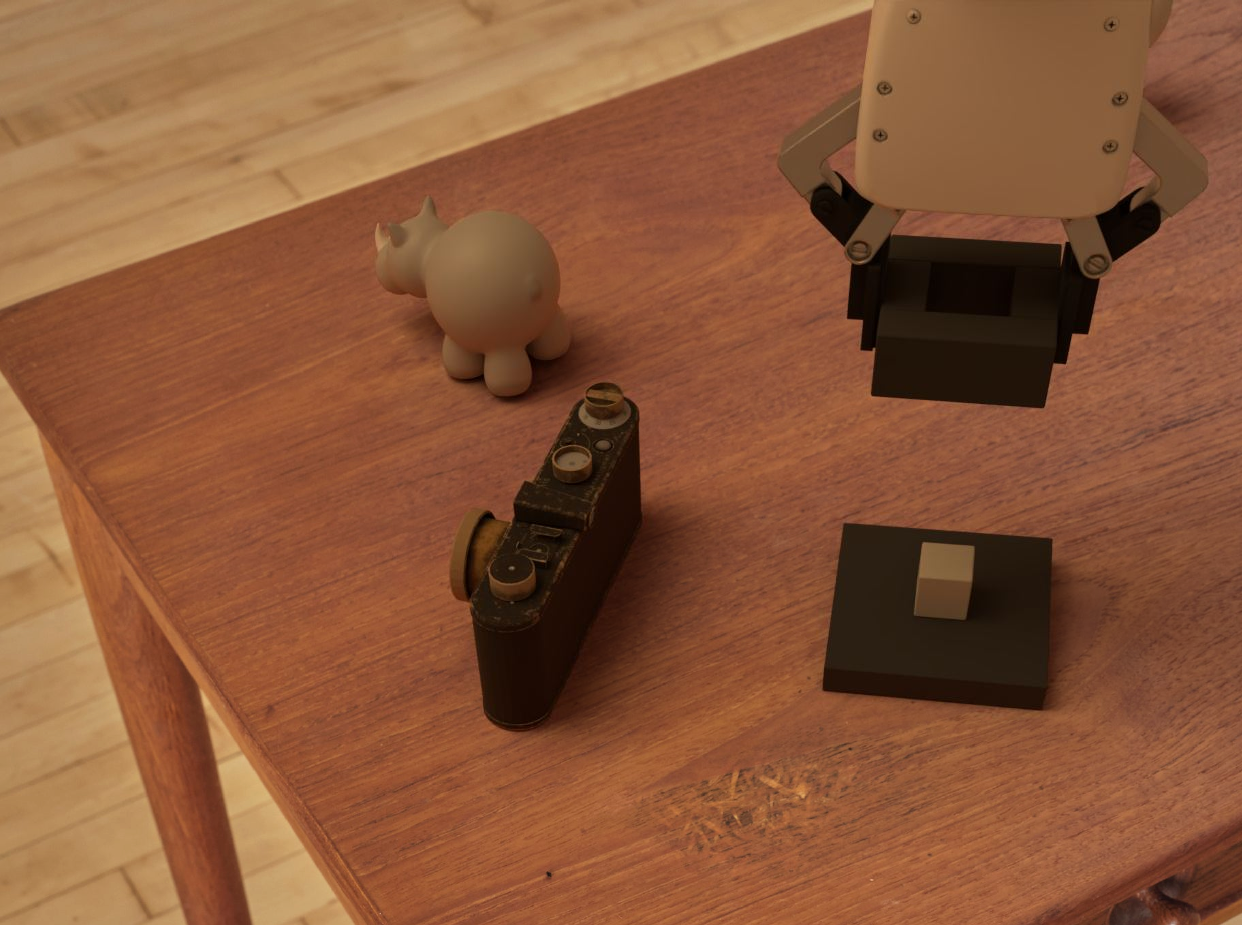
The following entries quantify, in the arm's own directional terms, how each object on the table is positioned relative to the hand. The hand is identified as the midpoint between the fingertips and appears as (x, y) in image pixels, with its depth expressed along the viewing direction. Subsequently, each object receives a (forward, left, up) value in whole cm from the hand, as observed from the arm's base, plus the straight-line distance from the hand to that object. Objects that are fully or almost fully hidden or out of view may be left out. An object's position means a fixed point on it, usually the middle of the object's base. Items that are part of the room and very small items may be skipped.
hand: (964, 334), depth 75 cm
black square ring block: (0, 0, -1) cm, 1 cm away
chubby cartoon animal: (+26, -17, -15) cm, 35 cm away
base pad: (-1, +2, -15) cm, 15 cm away
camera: (+18, +3, -15) cm, 24 cm away
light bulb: (-8, -43, -15) cm, 47 cm away
